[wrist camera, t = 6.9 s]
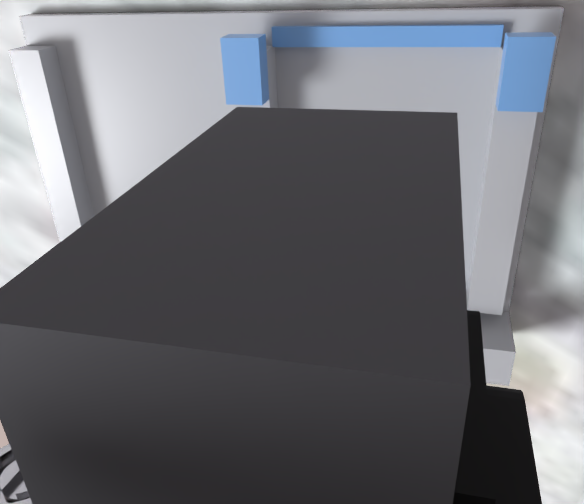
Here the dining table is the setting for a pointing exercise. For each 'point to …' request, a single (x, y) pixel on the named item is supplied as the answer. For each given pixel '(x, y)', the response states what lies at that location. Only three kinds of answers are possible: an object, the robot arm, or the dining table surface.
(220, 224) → the dark gray block
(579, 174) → the dining table surface
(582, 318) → the dining table surface
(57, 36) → the grey tray
